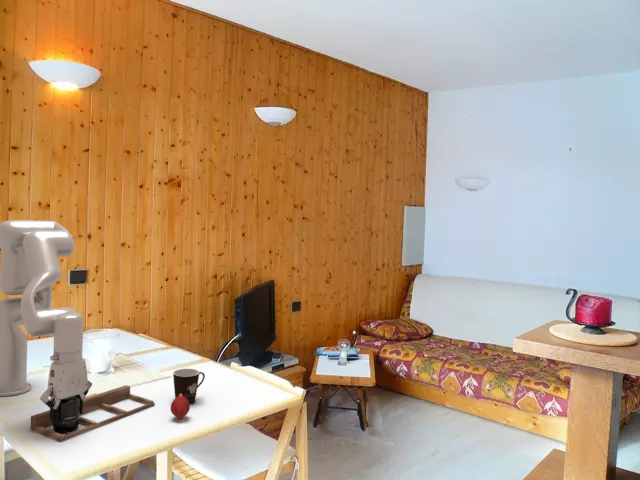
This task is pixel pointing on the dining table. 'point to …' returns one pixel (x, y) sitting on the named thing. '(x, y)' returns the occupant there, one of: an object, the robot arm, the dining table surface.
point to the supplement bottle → (68, 415)
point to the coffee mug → (187, 383)
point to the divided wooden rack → (89, 405)
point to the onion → (180, 406)
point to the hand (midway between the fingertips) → (66, 416)
